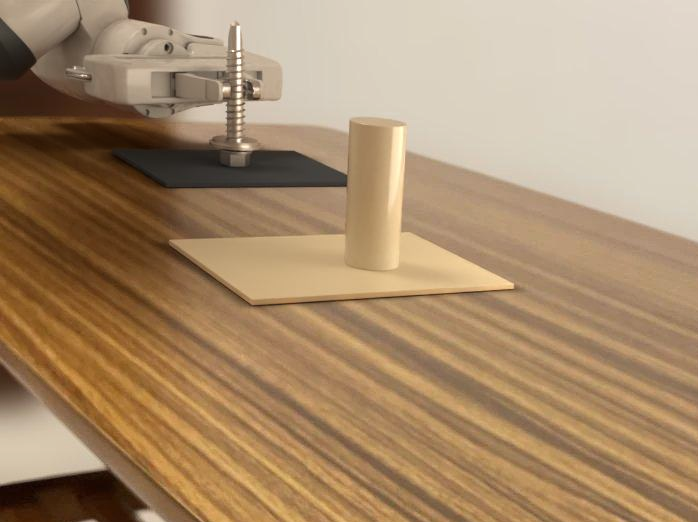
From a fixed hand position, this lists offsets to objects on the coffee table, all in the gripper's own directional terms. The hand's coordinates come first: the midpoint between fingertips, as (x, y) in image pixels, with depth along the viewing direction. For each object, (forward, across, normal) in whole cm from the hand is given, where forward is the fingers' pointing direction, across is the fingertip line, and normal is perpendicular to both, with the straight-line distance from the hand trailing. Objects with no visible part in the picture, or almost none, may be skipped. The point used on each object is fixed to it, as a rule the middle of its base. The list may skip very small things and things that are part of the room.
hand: (242, 91), depth 116 cm
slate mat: (-1, 0, +7) cm, 7 cm away
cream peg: (+32, -16, +7) cm, 37 cm away
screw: (-1, 0, +7) cm, 7 cm away
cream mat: (+31, -18, +7) cm, 36 cm away
